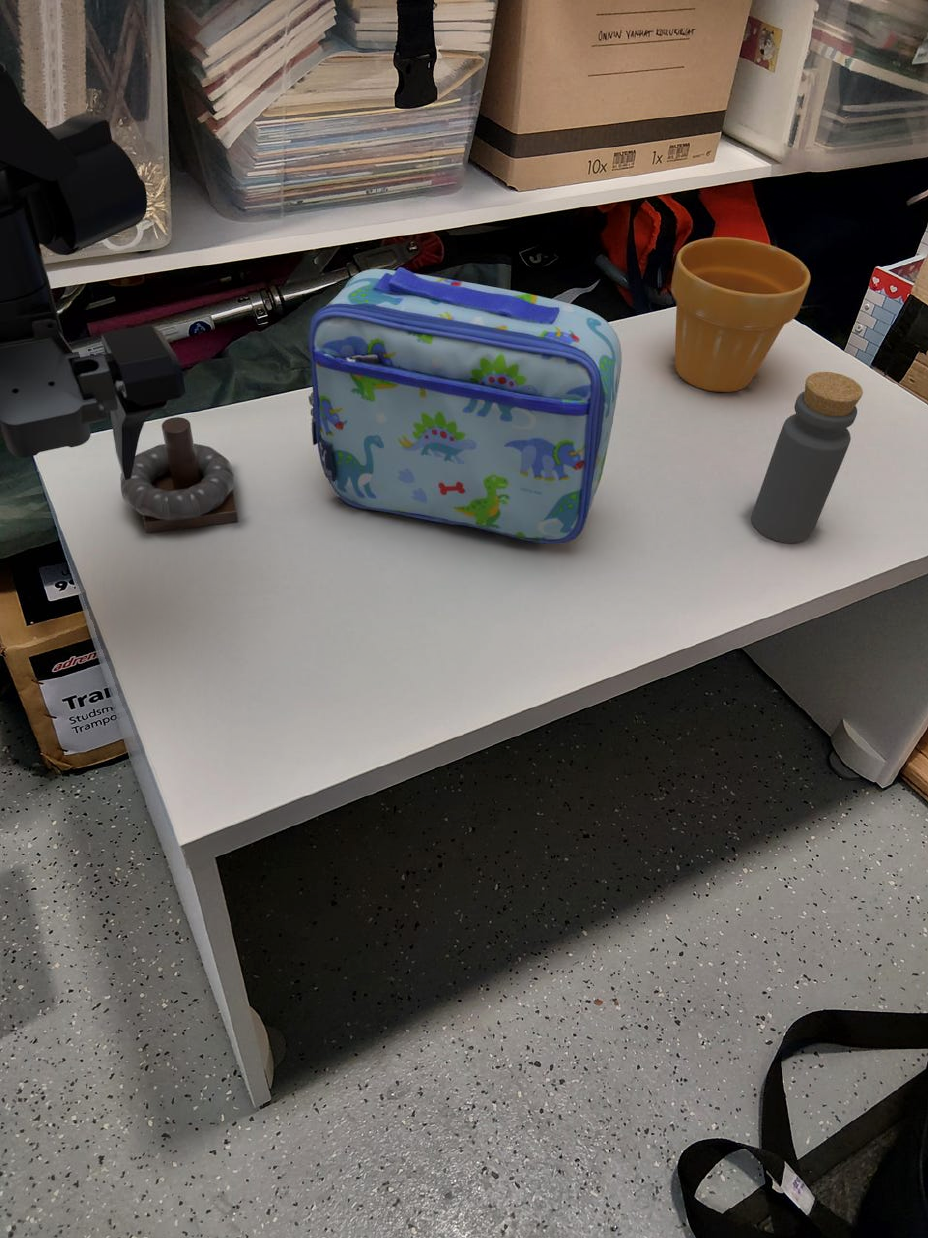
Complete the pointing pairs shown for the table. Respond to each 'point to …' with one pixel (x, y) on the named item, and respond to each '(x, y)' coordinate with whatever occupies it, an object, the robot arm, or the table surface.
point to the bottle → (807, 458)
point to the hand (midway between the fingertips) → (60, 492)
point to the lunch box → (463, 403)
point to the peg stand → (185, 479)
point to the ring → (183, 500)
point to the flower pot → (732, 308)
